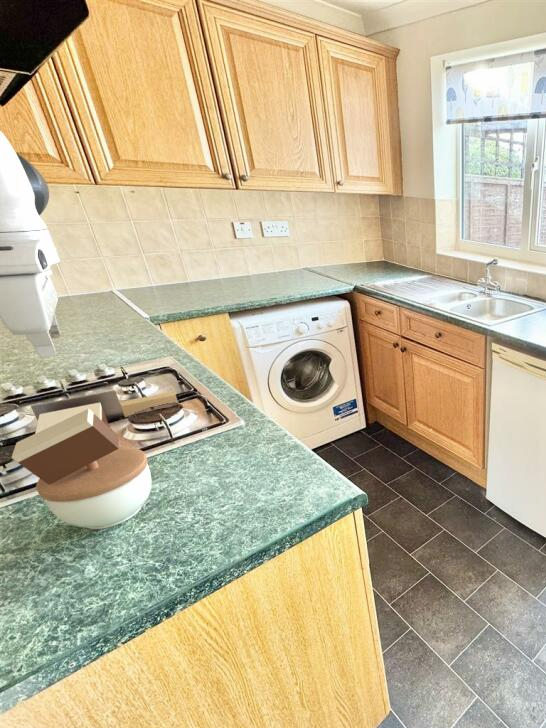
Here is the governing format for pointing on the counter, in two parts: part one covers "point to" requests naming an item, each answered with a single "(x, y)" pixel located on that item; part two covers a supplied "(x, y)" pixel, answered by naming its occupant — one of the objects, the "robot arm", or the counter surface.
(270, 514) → the counter surface
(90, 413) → the cake slice
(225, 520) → the counter surface
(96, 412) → the cake
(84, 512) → the lidded bowl
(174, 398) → the cleaver
